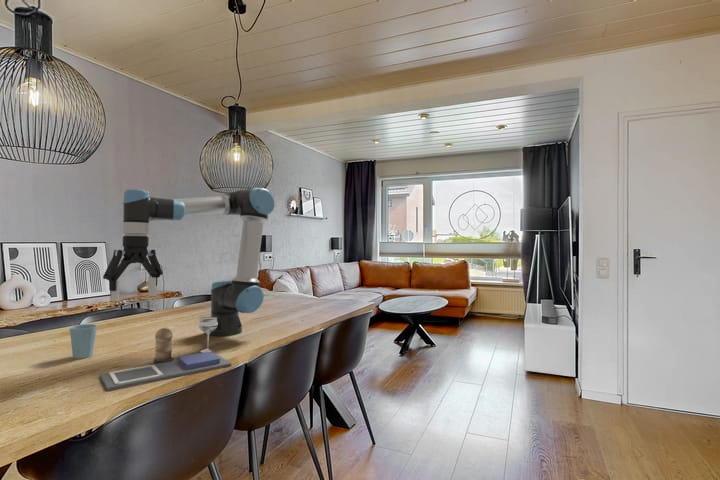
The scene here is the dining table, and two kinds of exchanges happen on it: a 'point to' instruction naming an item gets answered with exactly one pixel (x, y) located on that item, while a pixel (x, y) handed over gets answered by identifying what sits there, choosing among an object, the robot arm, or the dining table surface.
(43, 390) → the dining table surface
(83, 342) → the cup
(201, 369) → the desk mat
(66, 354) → the dining table surface
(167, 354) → the stamp
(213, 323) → the wineglass
